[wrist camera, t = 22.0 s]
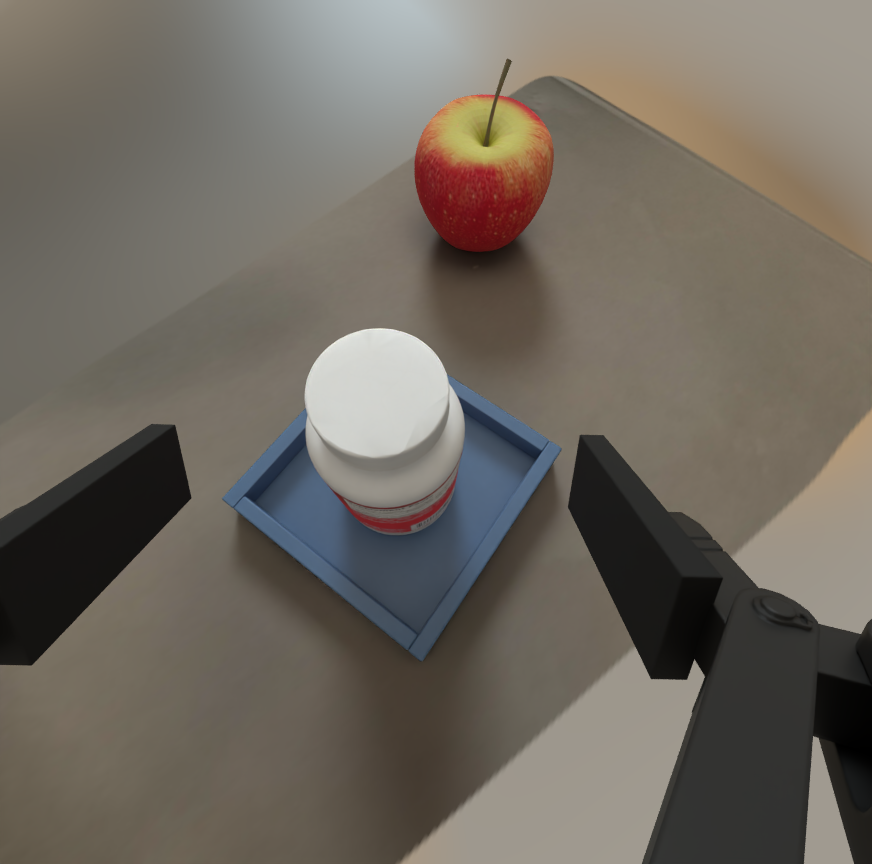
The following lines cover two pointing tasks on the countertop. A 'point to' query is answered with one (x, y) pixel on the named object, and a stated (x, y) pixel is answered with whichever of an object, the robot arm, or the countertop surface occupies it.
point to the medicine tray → (400, 554)
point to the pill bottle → (385, 429)
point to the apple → (483, 169)
